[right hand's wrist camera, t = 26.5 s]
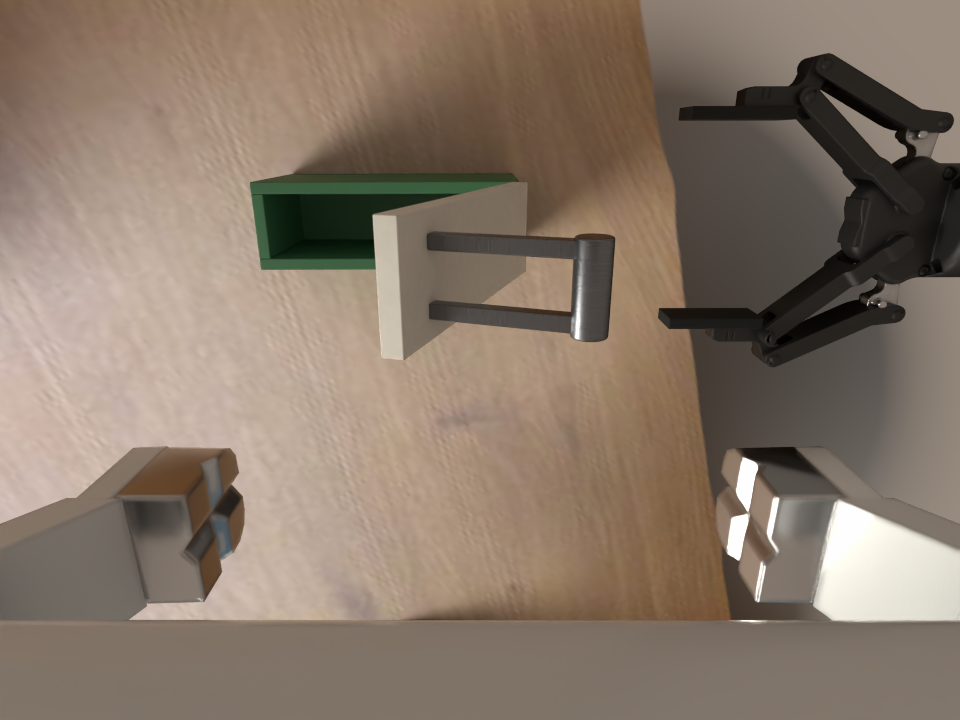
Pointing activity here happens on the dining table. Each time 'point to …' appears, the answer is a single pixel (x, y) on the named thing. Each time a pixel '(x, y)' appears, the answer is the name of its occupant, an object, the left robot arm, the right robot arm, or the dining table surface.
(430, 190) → the chest
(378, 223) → the door
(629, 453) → the dining table surface
